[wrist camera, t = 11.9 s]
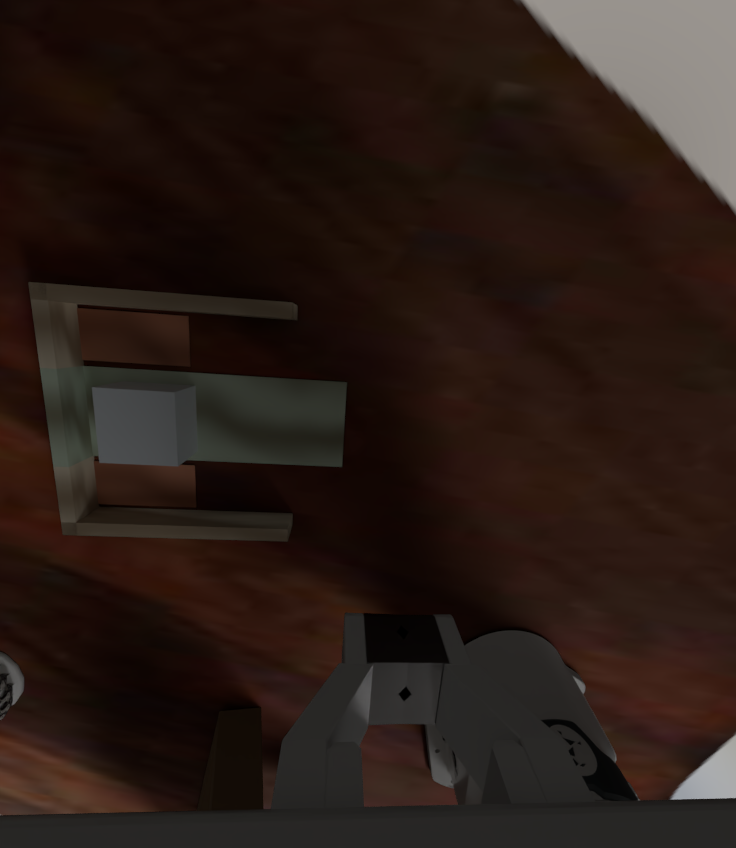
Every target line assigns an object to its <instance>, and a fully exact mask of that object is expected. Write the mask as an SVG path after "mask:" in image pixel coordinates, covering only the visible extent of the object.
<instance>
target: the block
mask: <svg viewBox="0 0 736 848" xmlns="http://www.w3.org/2000/svg"><path fill="white" fill-rule="evenodd" d="M92 395H93V405H94V415H95V424H96V434H97V444H98V454H99V463H114V464H136V465H157V466H179V465H181V464H182V463H183V462H185V461H186V460H187V459H188V458H190V457H191V456H192V455H194V454H195V453H196V452H197V451H198V442H197V414H196V387H195V386H194V385H178V384H162V383H147V382H131V381H121V382H116V383H111V384H106V385H101V386H96V387H92Z"/></svg>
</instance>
